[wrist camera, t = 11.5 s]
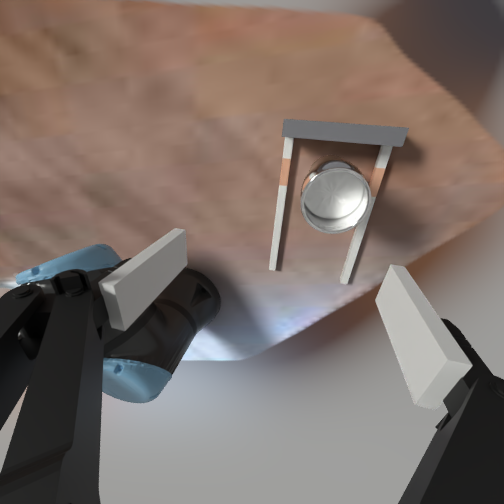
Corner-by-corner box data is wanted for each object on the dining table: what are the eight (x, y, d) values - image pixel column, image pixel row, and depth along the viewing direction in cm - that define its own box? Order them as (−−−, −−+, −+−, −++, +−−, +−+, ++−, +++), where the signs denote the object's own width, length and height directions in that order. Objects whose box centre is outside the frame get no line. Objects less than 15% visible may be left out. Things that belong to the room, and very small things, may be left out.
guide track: (346, 280, 43) (349, 297, 39) (270, 266, 45) (265, 280, 41) (396, 127, 31) (409, 127, 26) (288, 120, 33) (283, 118, 29)
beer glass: (314, 145, 34) (312, 156, 21) (361, 158, 33) (388, 176, 20) (299, 191, 38) (289, 224, 25) (341, 203, 37) (354, 244, 24)
